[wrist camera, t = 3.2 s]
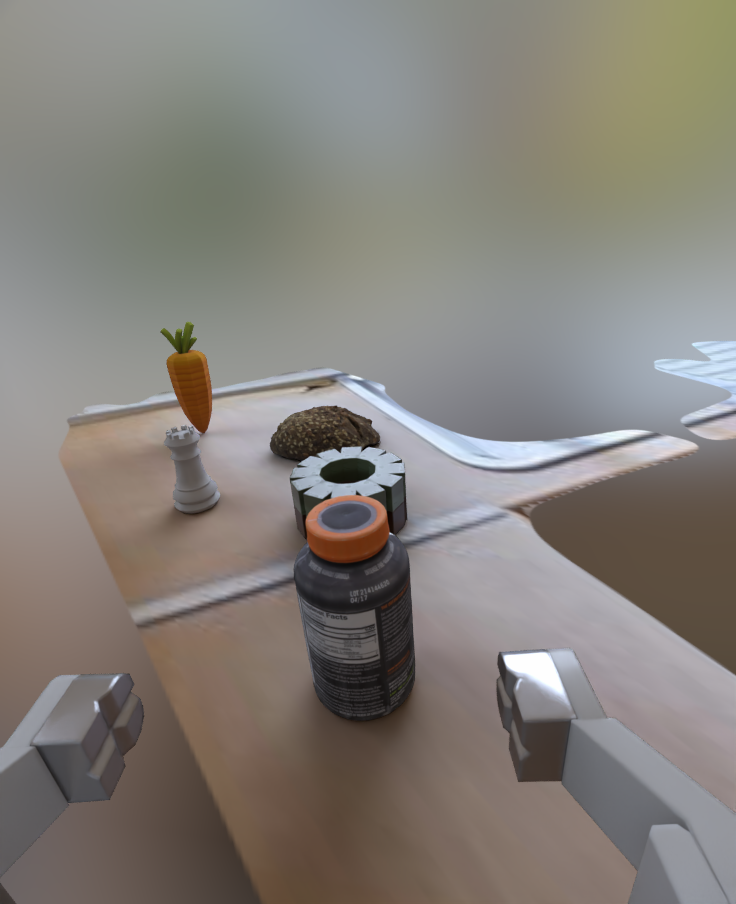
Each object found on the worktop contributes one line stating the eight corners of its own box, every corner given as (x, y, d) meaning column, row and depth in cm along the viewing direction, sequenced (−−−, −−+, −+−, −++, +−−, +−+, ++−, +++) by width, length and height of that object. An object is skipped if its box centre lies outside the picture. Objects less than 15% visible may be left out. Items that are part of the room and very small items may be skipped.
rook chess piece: (169, 502, 48) (149, 430, 45) (212, 488, 50) (195, 418, 47) (183, 520, 45) (161, 444, 41) (228, 503, 47) (211, 429, 44)
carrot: (177, 438, 64) (147, 327, 58) (200, 425, 68) (175, 319, 62) (207, 441, 63) (180, 326, 56) (229, 427, 67) (206, 319, 61)
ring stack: (323, 564, 37) (316, 512, 35) (283, 508, 45) (275, 464, 43) (428, 524, 41) (427, 476, 39) (374, 480, 49) (371, 438, 47)
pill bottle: (376, 623, 31) (364, 472, 27) (437, 685, 27) (434, 515, 22) (296, 669, 28) (265, 509, 24) (348, 747, 24) (323, 568, 19)
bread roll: (257, 456, 57) (250, 418, 55) (311, 420, 67) (307, 386, 65) (350, 471, 52) (346, 429, 49) (394, 430, 62) (393, 393, 59)
